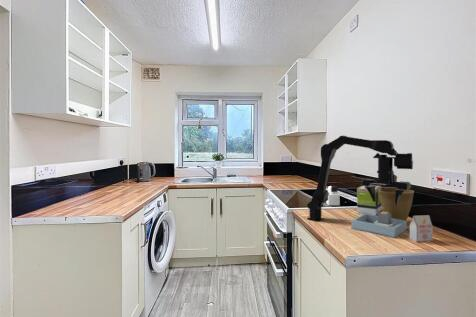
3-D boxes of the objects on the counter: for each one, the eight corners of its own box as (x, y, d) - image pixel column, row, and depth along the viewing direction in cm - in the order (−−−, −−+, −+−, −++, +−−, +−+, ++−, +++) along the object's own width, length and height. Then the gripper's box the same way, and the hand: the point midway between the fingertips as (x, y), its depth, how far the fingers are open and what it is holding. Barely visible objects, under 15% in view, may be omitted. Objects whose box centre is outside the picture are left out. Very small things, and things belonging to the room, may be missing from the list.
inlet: (390, 232, 115) (390, 225, 115) (373, 228, 120) (373, 222, 120) (395, 229, 120) (395, 222, 119) (379, 225, 125) (379, 219, 124)
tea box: (363, 208, 163) (363, 184, 162) (382, 210, 156) (382, 185, 156) (356, 213, 151) (356, 187, 150) (376, 216, 145) (376, 189, 144)
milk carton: (409, 239, 109) (409, 214, 108) (424, 238, 109) (425, 214, 109) (416, 242, 105) (416, 217, 104) (432, 241, 106) (432, 216, 105)
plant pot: (407, 219, 137) (407, 188, 137) (418, 227, 123) (418, 193, 122) (375, 217, 141) (375, 187, 141) (382, 225, 127) (383, 192, 126)
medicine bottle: (336, 203, 178) (336, 185, 178) (339, 205, 171) (339, 187, 170) (325, 203, 179) (325, 185, 178) (328, 205, 172) (328, 187, 171)
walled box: (394, 238, 110) (394, 228, 109) (351, 228, 123) (351, 220, 123) (406, 229, 120) (406, 220, 120) (365, 221, 134) (366, 213, 134)
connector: (387, 230, 117) (388, 213, 117) (378, 228, 120) (378, 212, 120) (391, 228, 120) (391, 212, 119) (381, 226, 123) (381, 210, 122)
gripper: (414, 168, 117) (414, 203, 118) (370, 166, 131) (370, 197, 132) (406, 169, 110) (406, 207, 110) (361, 167, 124) (361, 201, 124)
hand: (385, 203), depth 119 cm, fingers open, 9 cm apart
